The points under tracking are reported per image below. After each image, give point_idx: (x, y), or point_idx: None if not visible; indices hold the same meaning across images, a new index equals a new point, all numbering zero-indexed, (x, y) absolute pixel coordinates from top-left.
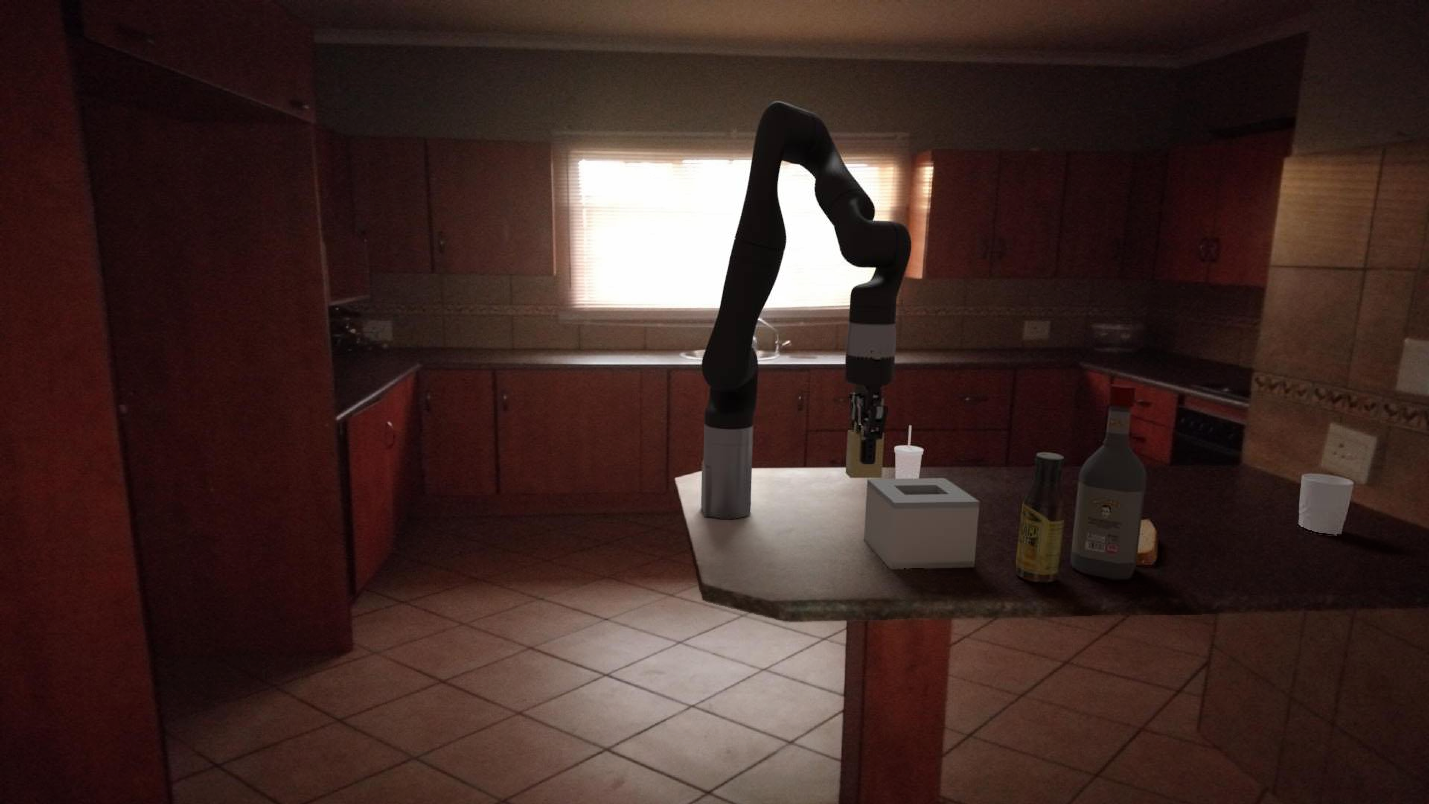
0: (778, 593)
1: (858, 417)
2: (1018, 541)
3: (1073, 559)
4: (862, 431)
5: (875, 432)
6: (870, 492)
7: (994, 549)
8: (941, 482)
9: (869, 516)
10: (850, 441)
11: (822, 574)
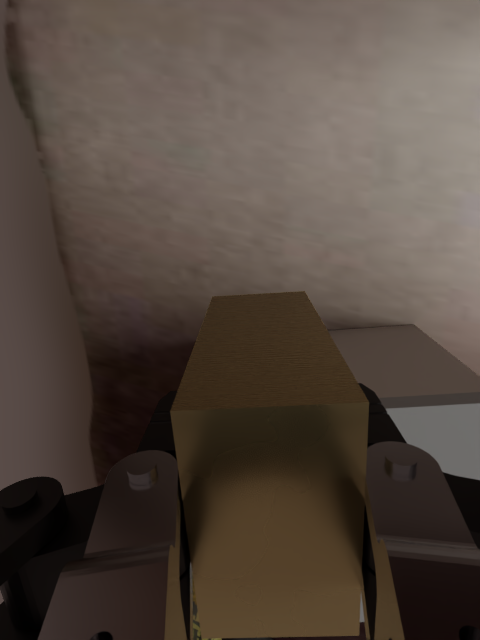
0: (60, 40)
1: (151, 633)
2: (193, 598)
3: (233, 638)
4: (135, 510)
5: (8, 600)
6: (445, 385)
7: None
8: None
9: (409, 353)
10: (247, 368)
11: (188, 177)
